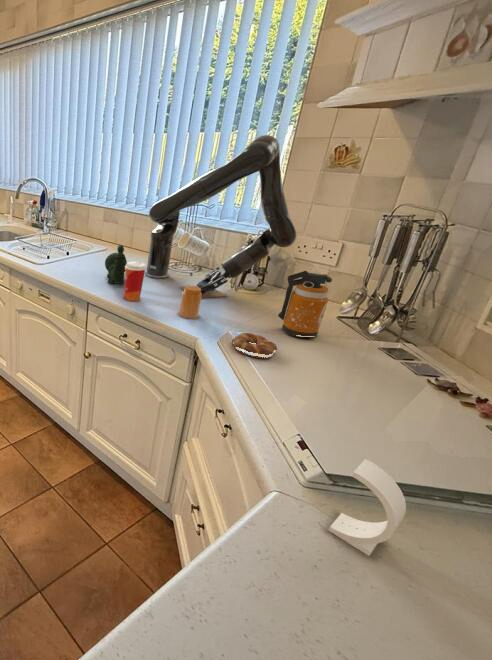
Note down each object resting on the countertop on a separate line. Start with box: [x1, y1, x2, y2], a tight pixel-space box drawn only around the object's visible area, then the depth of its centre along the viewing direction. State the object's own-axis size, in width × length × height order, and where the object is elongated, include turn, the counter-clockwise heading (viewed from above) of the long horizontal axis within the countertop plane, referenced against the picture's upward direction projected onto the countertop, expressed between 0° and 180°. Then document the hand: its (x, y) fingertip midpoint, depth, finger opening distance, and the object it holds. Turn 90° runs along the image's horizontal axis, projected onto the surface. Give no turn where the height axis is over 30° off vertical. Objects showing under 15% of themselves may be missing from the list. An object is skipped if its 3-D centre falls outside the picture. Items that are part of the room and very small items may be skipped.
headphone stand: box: [328, 458, 407, 557], centre depth 58 cm, size 5×6×12 cm
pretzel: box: [231, 332, 278, 360], centre depth 114 cm, size 12×11×4 cm
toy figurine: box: [104, 244, 128, 286], centre depth 171 cm, size 9×19×25 cm
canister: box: [277, 270, 333, 339], centre depth 120 cm, size 9×11×20 cm
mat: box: [180, 285, 227, 299], centre depth 158 cm, size 12×12×1 cm
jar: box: [178, 285, 202, 320], centre depth 136 cm, size 6×6×10 cm
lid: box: [196, 280, 215, 291], centre depth 157 cm, size 6×6×2 cm
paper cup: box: [123, 261, 147, 302], centre depth 151 cm, size 8×8×14 cm
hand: (199, 289), depth 158 cm, fingers closed on lid, 6 cm apart
